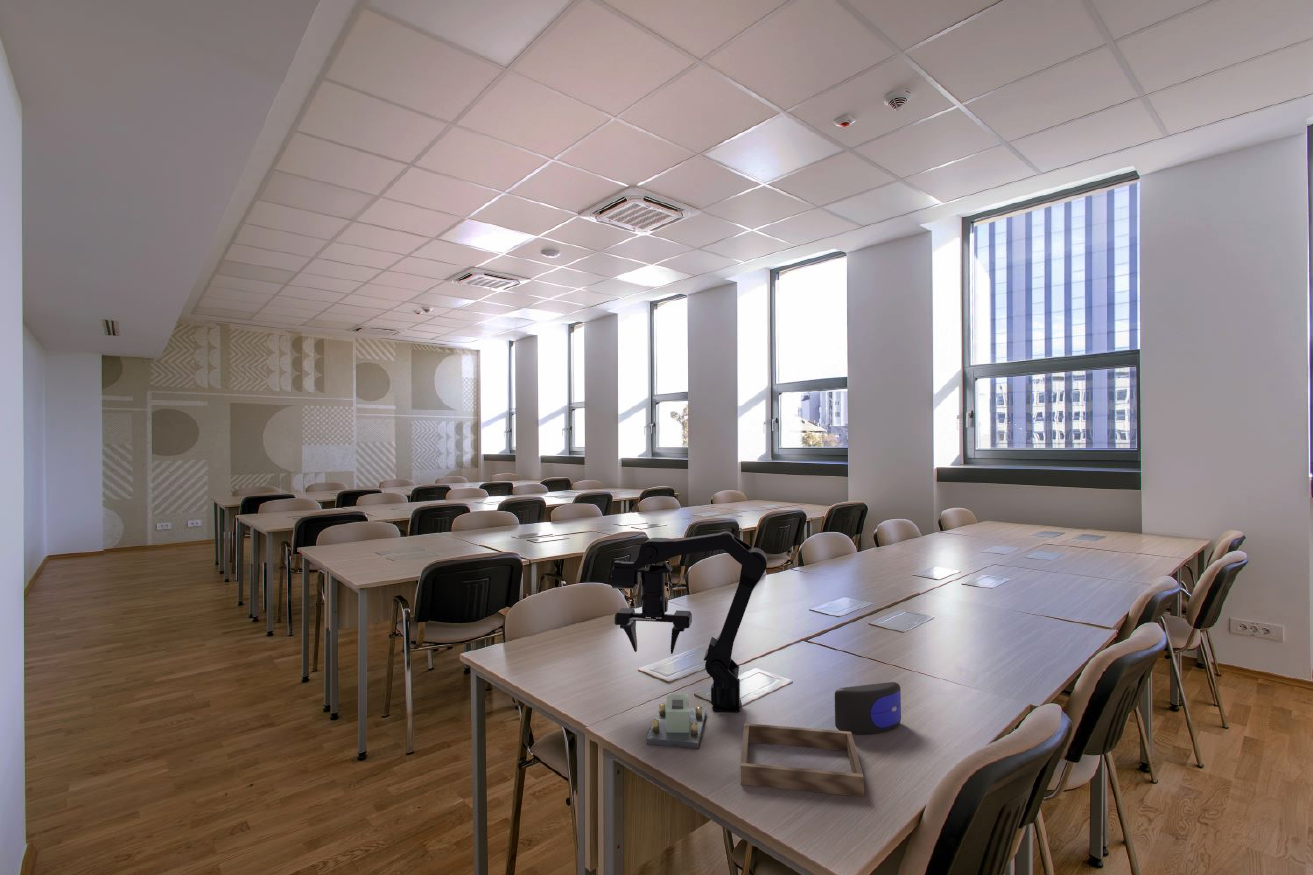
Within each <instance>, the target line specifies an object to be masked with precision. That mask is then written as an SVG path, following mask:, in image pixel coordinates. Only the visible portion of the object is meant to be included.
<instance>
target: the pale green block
mask: <svg viewBox="0 0 1313 875" xmlns="http://www.w3.org/2000/svg"><path fill="white" fill-rule="evenodd" d="M689 698H690V697H689V694H688V693H667V694H666V703H665V704H666V732H669V733H689V708H690V703H689V702H690V699H689Z"/></svg>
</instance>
